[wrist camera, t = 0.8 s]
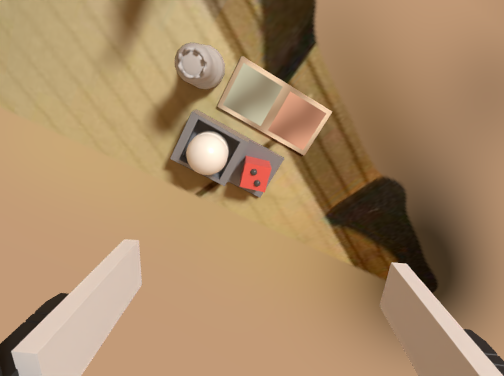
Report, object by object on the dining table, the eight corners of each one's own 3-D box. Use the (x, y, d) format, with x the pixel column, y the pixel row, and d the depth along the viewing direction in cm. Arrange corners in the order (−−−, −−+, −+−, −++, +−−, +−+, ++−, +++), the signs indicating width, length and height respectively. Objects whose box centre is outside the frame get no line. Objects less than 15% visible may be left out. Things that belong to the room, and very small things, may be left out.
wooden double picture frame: (217, 106, 31) (217, 106, 31) (241, 56, 29) (241, 55, 29) (303, 154, 34) (304, 155, 33) (331, 111, 32) (332, 111, 31)
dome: (184, 157, 31) (175, 168, 27) (200, 123, 30) (193, 130, 26) (218, 174, 32) (214, 188, 28) (235, 142, 31) (233, 151, 27)
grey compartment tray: (175, 153, 33) (166, 162, 30) (195, 109, 31) (189, 112, 28) (259, 196, 36) (261, 209, 32) (283, 157, 34) (288, 166, 30)
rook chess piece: (209, 97, 31) (198, 103, 23) (176, 70, 30) (153, 67, 22) (233, 64, 30) (229, 59, 22) (200, 35, 29) (184, 19, 21)
